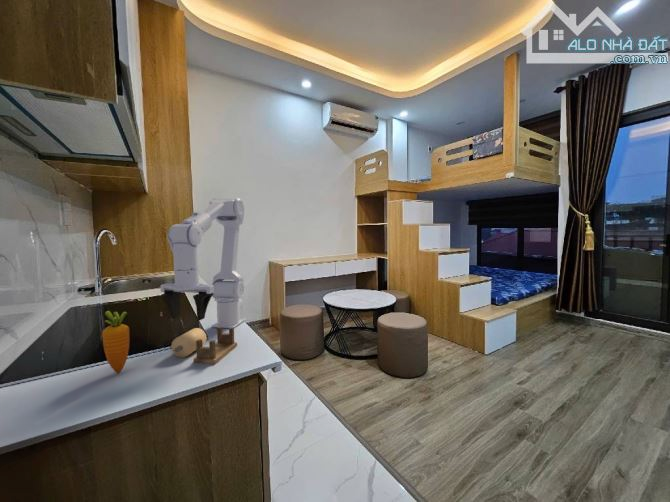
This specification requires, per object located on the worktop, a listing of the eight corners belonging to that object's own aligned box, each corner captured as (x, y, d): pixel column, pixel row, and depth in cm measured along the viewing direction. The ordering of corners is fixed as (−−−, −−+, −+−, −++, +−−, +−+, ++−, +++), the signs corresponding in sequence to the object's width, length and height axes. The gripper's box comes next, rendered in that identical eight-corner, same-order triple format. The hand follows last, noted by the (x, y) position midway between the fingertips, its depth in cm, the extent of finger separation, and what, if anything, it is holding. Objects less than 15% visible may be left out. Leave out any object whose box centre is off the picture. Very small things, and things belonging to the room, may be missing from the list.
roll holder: (193, 362, 71) (192, 341, 71) (218, 344, 82) (217, 326, 82) (215, 364, 70) (214, 342, 70) (237, 345, 81) (236, 327, 81)
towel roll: (167, 359, 73) (166, 338, 73) (192, 343, 83) (192, 325, 82) (186, 361, 72) (186, 340, 72) (209, 345, 82) (209, 326, 82)
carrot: (136, 368, 68) (133, 307, 67) (119, 379, 63) (115, 313, 62) (118, 367, 69) (114, 307, 68) (99, 377, 64) (94, 313, 63)
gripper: (150, 270, 73) (153, 321, 74) (201, 272, 71) (203, 324, 72) (170, 266, 80) (172, 313, 81) (217, 268, 78) (219, 316, 79)
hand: (188, 318), depth 77 cm, fingers open, 7 cm apart
